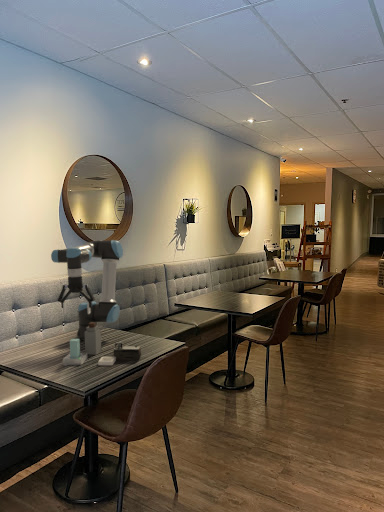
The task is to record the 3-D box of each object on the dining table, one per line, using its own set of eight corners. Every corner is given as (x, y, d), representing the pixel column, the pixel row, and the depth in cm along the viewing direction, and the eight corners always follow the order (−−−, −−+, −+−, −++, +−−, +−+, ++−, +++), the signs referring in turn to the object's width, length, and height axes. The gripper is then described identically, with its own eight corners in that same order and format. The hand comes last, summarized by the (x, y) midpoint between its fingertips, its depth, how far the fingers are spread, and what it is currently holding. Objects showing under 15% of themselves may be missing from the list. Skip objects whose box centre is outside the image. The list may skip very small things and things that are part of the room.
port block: (69, 359, 222) (69, 352, 221) (87, 359, 221) (87, 352, 221) (63, 365, 212) (62, 358, 211) (81, 365, 211) (81, 358, 211)
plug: (73, 360, 218) (72, 338, 217) (80, 360, 218) (79, 338, 217) (70, 362, 214) (69, 340, 213) (77, 362, 214) (77, 340, 213)
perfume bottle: (96, 355, 227) (95, 324, 226) (85, 355, 228) (84, 324, 227) (101, 351, 234) (100, 321, 232) (90, 351, 235) (89, 321, 234)
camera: (142, 357, 223) (141, 340, 222) (139, 362, 216) (138, 344, 215) (115, 356, 225) (115, 339, 224) (111, 361, 217) (111, 343, 216)
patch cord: (81, 352, 233) (81, 350, 233) (82, 352, 233) (82, 350, 233) (73, 359, 221) (73, 357, 221) (75, 359, 221) (75, 357, 221)
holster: (102, 361, 217) (102, 356, 217) (115, 361, 217) (115, 356, 217) (98, 366, 210) (98, 361, 210) (112, 366, 210) (112, 361, 209)
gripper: (49, 277, 216) (52, 315, 219) (95, 276, 215) (97, 315, 218) (55, 275, 224) (57, 312, 226) (99, 274, 223) (101, 311, 225)
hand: (77, 313), depth 222 cm, fingers open, 13 cm apart
